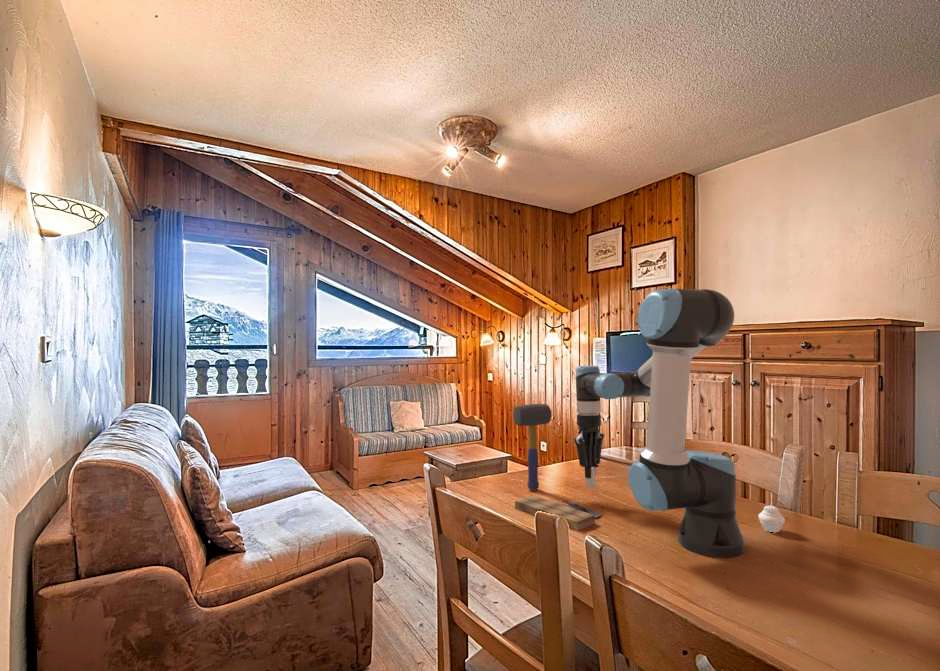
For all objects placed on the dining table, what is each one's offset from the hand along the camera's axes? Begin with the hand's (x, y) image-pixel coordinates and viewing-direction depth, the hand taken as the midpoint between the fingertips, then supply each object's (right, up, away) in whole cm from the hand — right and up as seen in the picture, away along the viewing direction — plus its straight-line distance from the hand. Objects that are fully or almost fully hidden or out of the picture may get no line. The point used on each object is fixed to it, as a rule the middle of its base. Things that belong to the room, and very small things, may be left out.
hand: (590, 487), depth 158 cm
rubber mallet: (-17, -5, +14) cm, 22 cm away
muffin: (+43, -5, -25) cm, 50 cm away
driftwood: (-7, -6, -5) cm, 10 cm away
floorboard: (-14, -5, -11) cm, 18 cm away
